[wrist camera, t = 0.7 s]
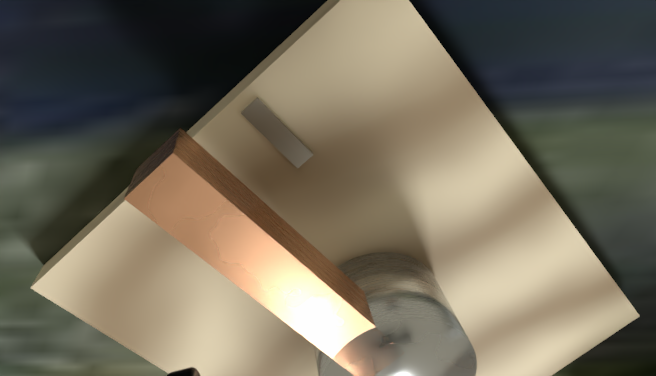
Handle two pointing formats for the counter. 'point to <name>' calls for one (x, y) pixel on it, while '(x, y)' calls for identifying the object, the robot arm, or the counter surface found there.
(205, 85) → the counter surface
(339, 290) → the handle
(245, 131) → the coupling base
